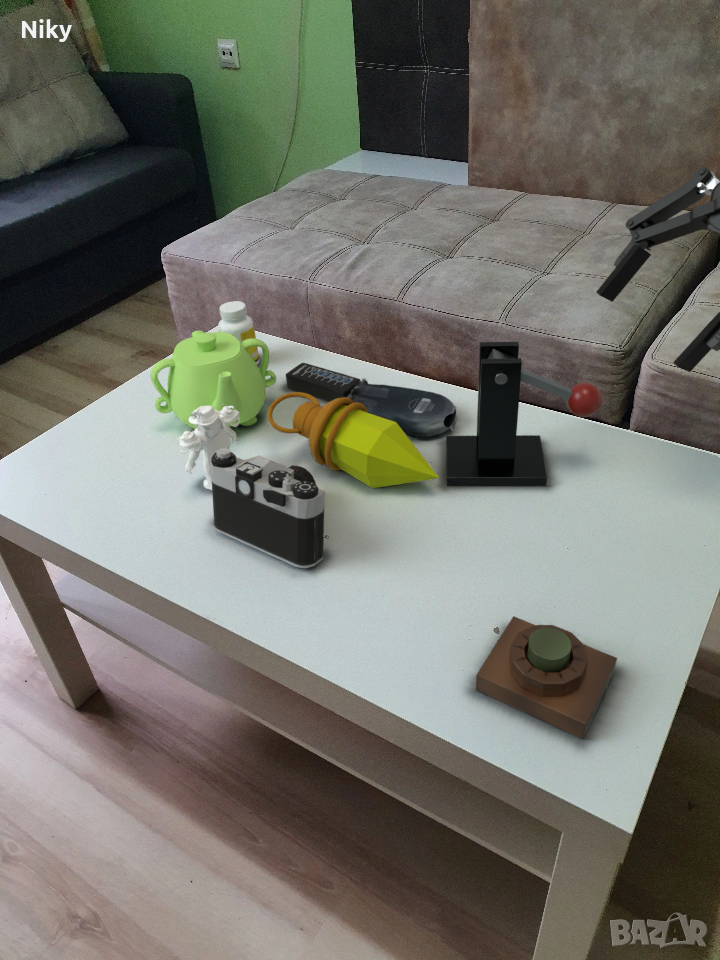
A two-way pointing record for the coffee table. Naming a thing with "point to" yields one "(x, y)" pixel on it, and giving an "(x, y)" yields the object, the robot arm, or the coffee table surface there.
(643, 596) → the coffee table surface
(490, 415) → the bracket
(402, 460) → the plumb bob
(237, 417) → the flower shoulder figurine
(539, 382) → the lever
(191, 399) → the teapot
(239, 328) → the supplement bottle
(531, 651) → the button
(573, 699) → the button block
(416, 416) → the electronic device
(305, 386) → the multiport hub
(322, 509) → the camera
